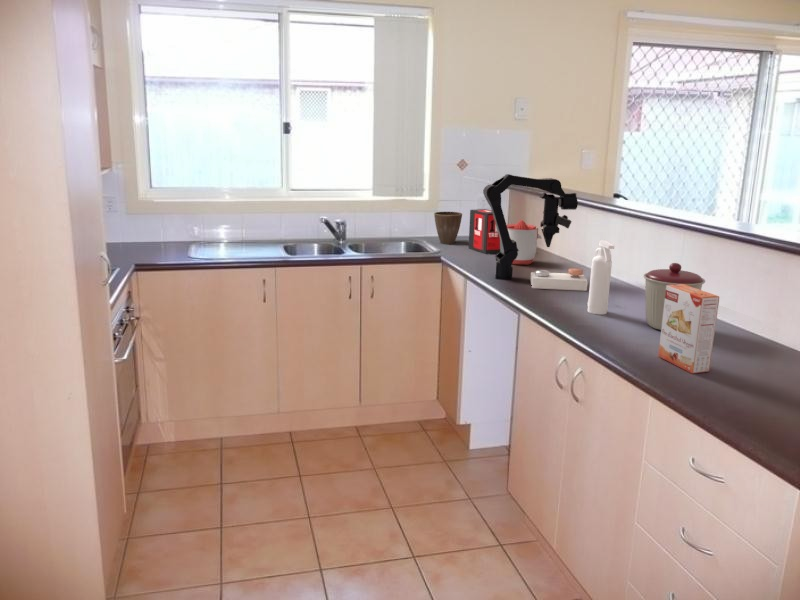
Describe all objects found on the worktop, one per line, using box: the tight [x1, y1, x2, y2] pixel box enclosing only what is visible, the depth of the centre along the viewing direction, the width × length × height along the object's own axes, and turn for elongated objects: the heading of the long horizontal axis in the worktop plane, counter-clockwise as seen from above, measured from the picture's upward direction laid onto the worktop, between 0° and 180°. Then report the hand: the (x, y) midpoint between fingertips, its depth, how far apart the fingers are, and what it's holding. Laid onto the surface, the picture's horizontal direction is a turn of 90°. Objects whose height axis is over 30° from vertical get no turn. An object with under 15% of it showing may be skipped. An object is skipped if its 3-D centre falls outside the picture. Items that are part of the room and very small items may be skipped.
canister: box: [643, 262, 706, 331], centre depth 216 cm, size 18×18×21 cm
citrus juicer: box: [506, 219, 543, 266], centre depth 316 cm, size 16×17×20 cm
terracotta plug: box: [568, 267, 584, 278], centre depth 272 cm, size 6×6×5 cm
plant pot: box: [433, 211, 463, 245], centre depth 366 cm, size 15×15×16 cm
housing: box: [529, 271, 588, 292], centre depth 273 cm, size 21×12×4 cm, turn 83°
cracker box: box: [657, 284, 720, 374], centre depth 182 cm, size 14×6×21 cm, turn 17°
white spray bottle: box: [586, 239, 615, 315], centre depth 234 cm, size 7×12×25 cm, turn 9°
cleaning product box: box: [468, 208, 500, 255], centre depth 345 cm, size 16×9×20 cm, turn 25°
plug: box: [534, 269, 550, 277], centre depth 273 cm, size 6×6×5 cm
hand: (548, 247), depth 285 cm, fingers closed
